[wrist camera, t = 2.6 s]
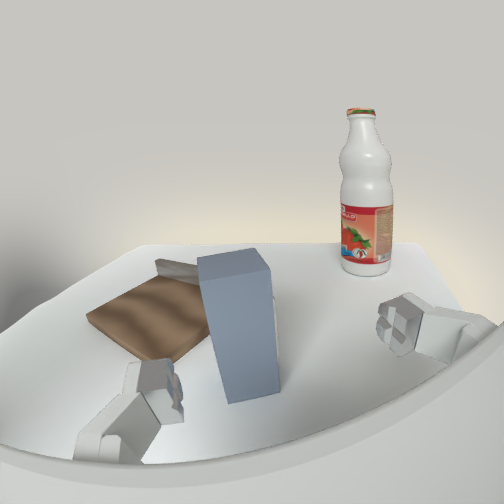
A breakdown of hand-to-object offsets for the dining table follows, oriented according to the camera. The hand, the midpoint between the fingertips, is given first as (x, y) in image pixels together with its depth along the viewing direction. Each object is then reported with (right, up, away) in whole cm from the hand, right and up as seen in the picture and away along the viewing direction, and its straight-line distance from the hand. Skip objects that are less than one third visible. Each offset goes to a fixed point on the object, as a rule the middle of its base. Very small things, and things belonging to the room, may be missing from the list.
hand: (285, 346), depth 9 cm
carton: (-2, -10, +16) cm, 19 cm away
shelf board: (-15, -6, +30) cm, 34 cm away
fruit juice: (+20, 0, +38) cm, 43 cm away
